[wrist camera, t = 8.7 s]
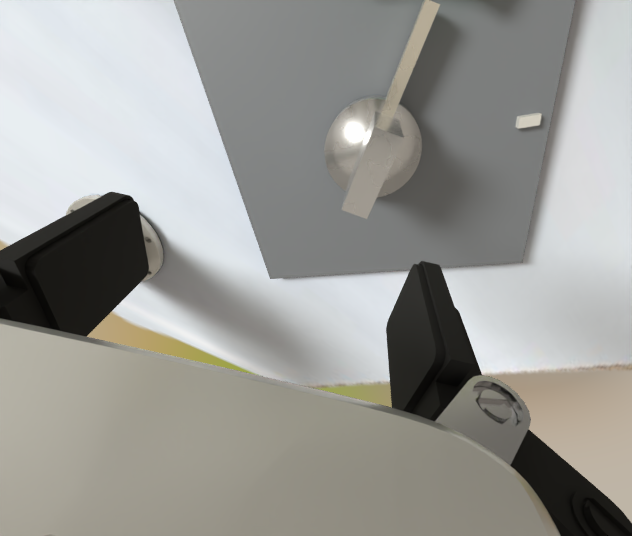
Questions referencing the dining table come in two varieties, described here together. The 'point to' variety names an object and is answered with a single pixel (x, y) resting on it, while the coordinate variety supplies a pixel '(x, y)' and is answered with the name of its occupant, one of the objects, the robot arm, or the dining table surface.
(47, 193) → the dining table surface
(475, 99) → the dial board
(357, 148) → the knob
